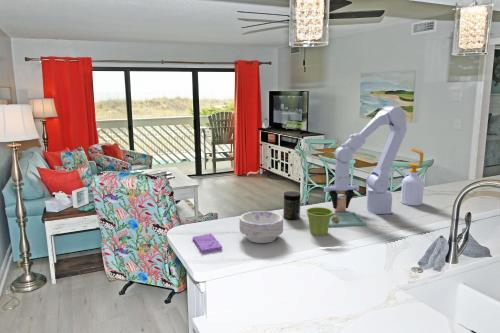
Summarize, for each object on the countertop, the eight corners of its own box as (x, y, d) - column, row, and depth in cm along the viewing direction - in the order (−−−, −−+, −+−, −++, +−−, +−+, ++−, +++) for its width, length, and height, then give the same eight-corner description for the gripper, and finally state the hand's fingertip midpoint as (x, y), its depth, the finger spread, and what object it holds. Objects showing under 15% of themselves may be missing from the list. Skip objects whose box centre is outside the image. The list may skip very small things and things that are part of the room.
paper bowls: (273, 228, 145) (273, 207, 144) (290, 243, 131) (290, 221, 130) (234, 233, 141) (234, 212, 139) (247, 249, 127) (247, 227, 125)
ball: (338, 221, 150) (338, 213, 149) (340, 224, 147) (341, 216, 146) (330, 222, 150) (330, 214, 149) (332, 225, 146) (333, 216, 146)
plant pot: (300, 231, 142) (301, 208, 140) (322, 227, 146) (323, 205, 144) (314, 240, 133) (315, 217, 132) (337, 236, 137) (338, 213, 135)
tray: (354, 215, 158) (354, 212, 158) (366, 226, 147) (366, 222, 146) (315, 217, 156) (316, 213, 156) (325, 228, 145) (325, 224, 144)
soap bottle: (403, 198, 181) (407, 146, 176) (424, 202, 176) (429, 148, 170) (398, 203, 174) (402, 149, 169) (419, 207, 169) (424, 151, 163)
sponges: (201, 255, 124) (201, 249, 124) (192, 240, 136) (192, 235, 135) (222, 251, 127) (222, 246, 126) (211, 237, 138) (211, 232, 138)
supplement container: (299, 222, 151) (299, 196, 149) (282, 221, 153) (282, 195, 151) (300, 216, 158) (301, 191, 156) (284, 215, 159) (284, 190, 157)
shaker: (343, 210, 165) (344, 193, 164) (347, 213, 161) (348, 197, 159) (333, 210, 165) (333, 194, 163) (336, 214, 160) (337, 197, 159)
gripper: (355, 173, 164) (353, 204, 167) (321, 174, 162) (320, 205, 165) (361, 177, 157) (360, 209, 160) (327, 178, 156) (326, 210, 158)
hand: (340, 207), depth 162 cm, fingers closed on shaker, 4 cm apart
